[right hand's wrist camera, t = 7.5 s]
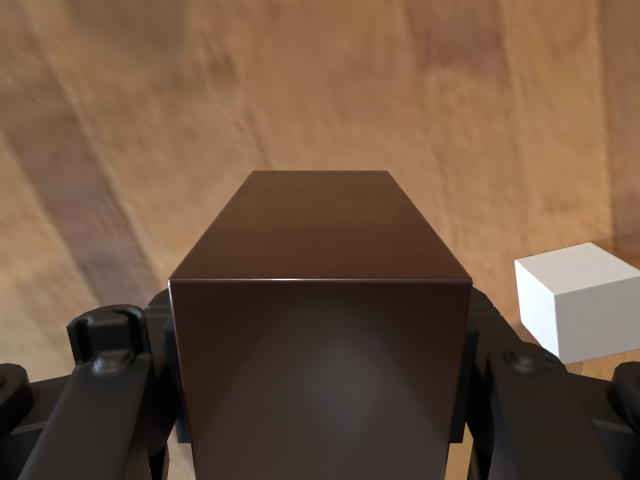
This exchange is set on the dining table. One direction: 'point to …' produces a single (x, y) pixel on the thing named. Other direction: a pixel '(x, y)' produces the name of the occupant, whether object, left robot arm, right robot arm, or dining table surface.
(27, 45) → the dining table surface
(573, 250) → the grey cube
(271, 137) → the dining table surface
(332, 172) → the walnut beam
